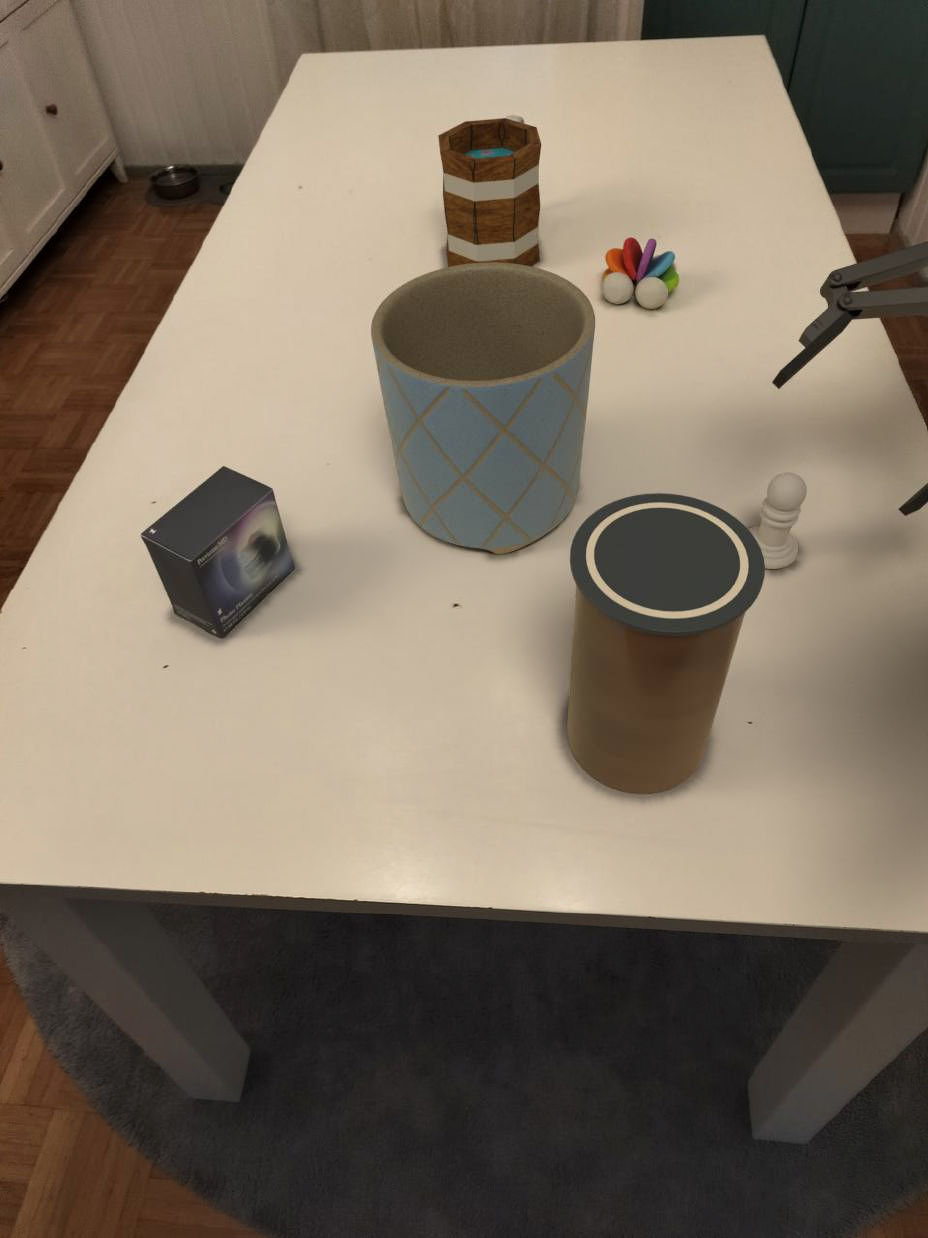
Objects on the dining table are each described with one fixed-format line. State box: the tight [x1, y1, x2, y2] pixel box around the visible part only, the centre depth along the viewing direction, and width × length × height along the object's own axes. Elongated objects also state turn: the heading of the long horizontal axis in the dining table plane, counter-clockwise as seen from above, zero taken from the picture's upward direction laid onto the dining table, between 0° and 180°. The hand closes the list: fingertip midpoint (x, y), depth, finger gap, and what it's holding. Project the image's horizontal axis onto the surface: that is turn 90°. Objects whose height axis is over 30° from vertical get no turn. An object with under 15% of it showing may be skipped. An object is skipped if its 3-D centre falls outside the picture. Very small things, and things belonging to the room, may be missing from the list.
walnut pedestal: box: [566, 584, 746, 795], centre depth 63 cm, size 11×11×20 cm
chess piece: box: [747, 472, 808, 570], centre depth 79 cm, size 5×5×9 cm
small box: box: [140, 465, 296, 639], centre depth 79 cm, size 11×6×10 cm, turn 147°
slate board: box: [569, 492, 766, 636], centre depth 55 cm, size 12×12×1 cm
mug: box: [437, 114, 542, 267], centre depth 117 cm, size 20×14×15 cm
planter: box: [370, 262, 596, 555], centre depth 82 cm, size 19×19×20 cm
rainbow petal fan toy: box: [601, 236, 680, 310], centre depth 110 cm, size 8×10×7 cm
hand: (842, 444), depth 66 cm, fingers open, 13 cm apart
